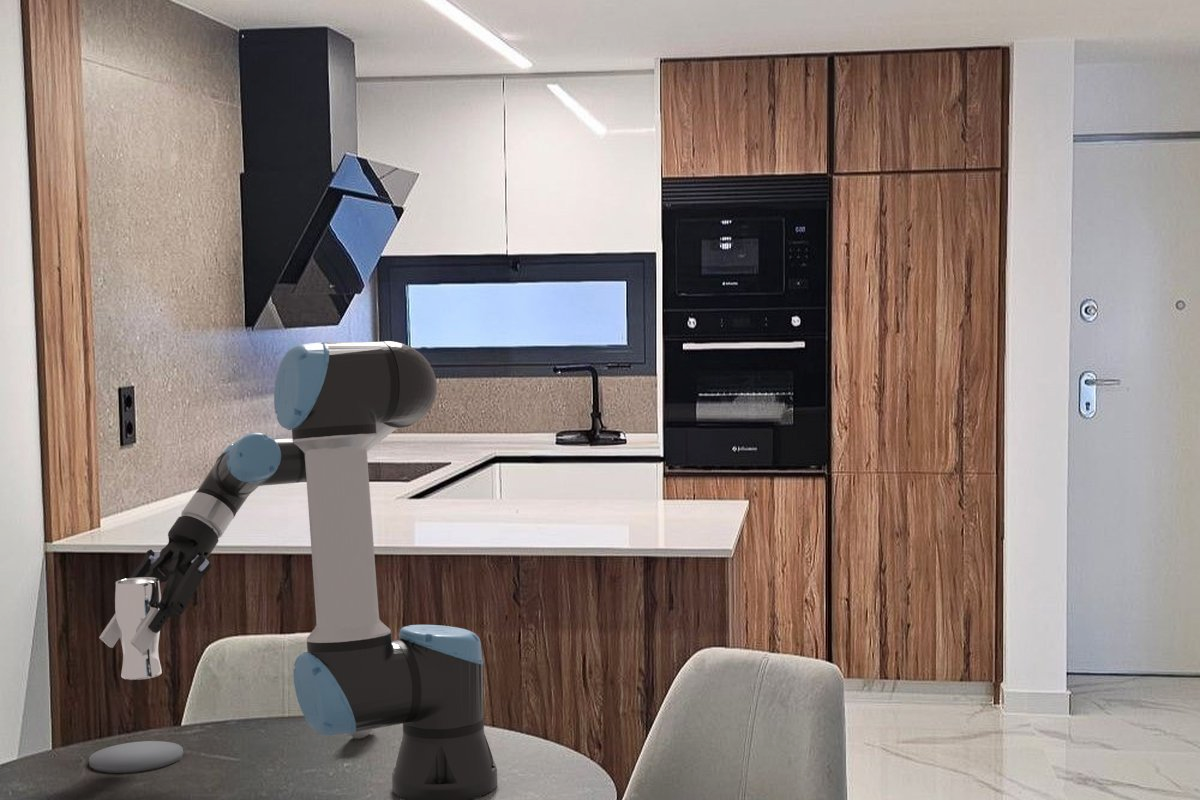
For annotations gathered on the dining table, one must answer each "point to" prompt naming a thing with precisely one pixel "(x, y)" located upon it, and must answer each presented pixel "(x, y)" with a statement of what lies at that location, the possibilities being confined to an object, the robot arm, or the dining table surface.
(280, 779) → the dining table surface
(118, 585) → the beer glass
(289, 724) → the dining table surface
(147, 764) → the mat
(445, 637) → the robot arm
